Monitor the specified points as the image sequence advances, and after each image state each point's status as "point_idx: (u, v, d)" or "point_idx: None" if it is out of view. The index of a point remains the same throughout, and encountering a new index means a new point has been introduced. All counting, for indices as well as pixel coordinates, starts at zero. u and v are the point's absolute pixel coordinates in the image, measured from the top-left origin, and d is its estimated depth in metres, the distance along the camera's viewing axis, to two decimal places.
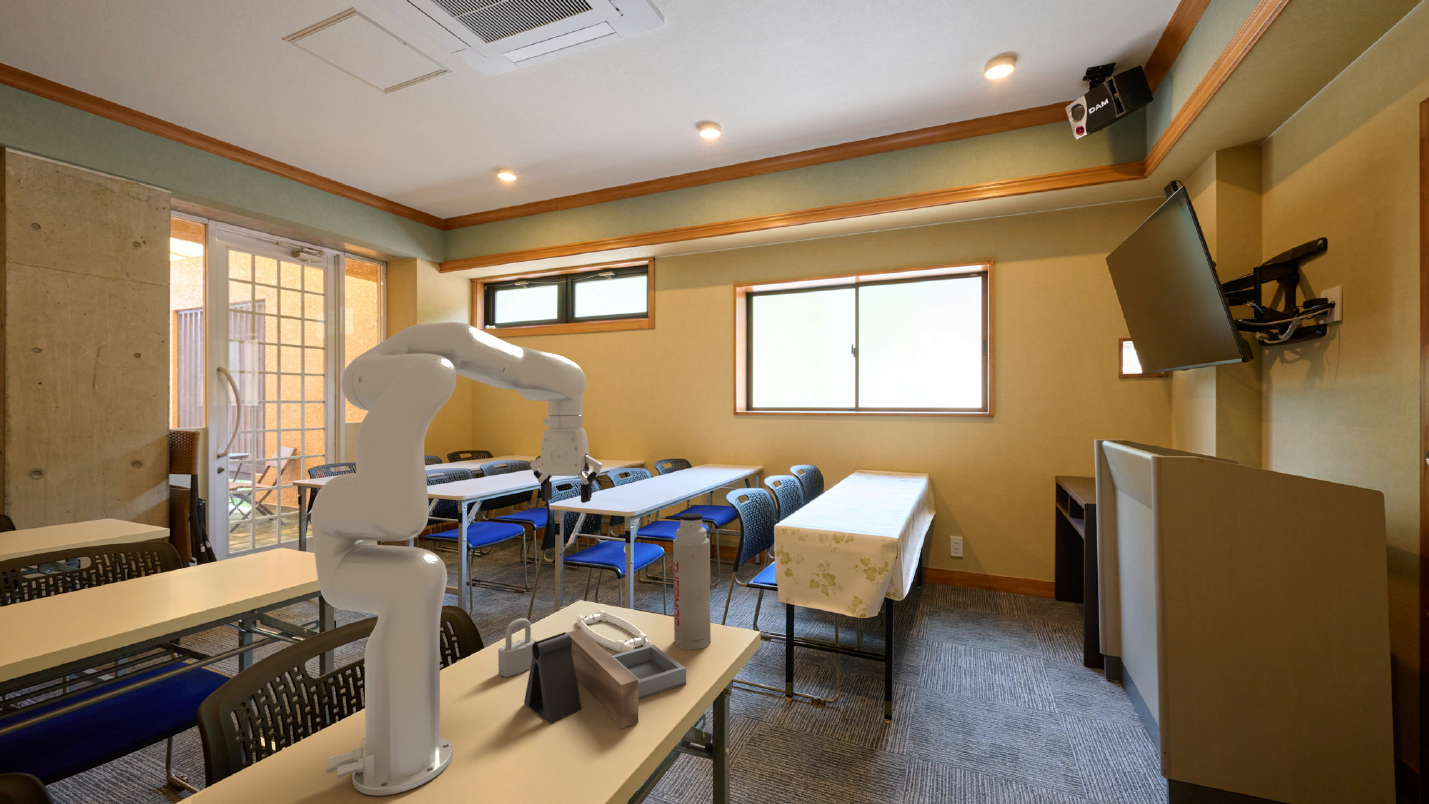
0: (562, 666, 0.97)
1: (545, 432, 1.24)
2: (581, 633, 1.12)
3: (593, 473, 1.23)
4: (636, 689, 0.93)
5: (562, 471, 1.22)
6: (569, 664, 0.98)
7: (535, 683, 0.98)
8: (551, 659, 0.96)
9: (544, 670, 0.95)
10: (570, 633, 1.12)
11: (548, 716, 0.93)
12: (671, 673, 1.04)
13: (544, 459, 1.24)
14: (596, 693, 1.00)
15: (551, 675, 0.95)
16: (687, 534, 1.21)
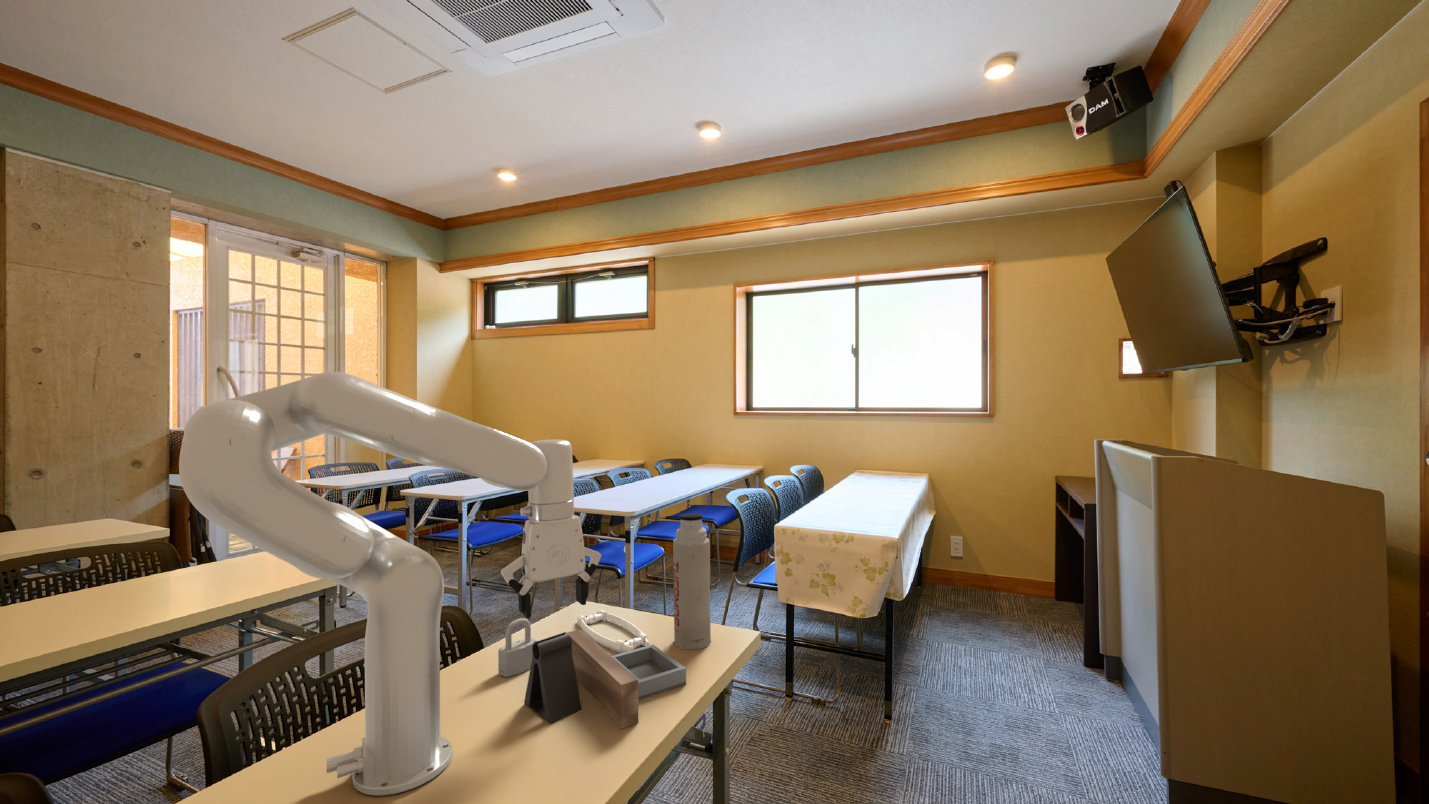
0: (562, 666, 0.97)
1: (535, 526, 0.94)
2: (581, 633, 1.12)
3: (594, 566, 1.02)
4: (636, 689, 0.93)
5: (563, 572, 0.97)
6: (569, 664, 0.98)
7: (535, 683, 0.98)
8: (551, 659, 0.96)
9: (544, 670, 0.95)
10: (570, 633, 1.12)
11: (548, 716, 0.93)
12: (671, 673, 1.04)
13: (536, 562, 0.94)
14: (596, 693, 1.00)
15: (551, 675, 0.96)
16: (687, 534, 1.21)
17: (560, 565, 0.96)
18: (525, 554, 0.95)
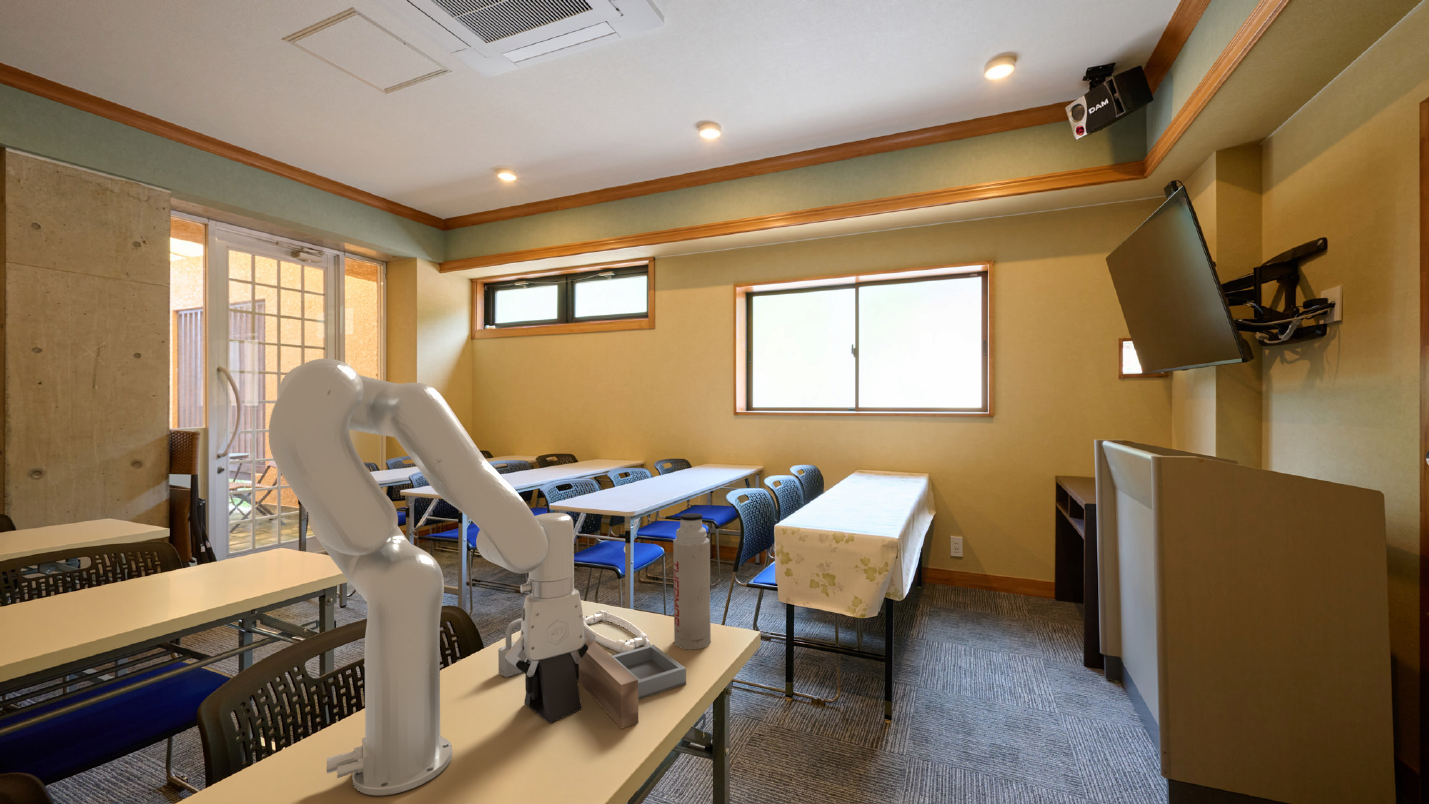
0: (562, 666, 0.97)
1: (535, 604, 0.94)
2: None
3: (586, 647, 1.01)
4: (636, 689, 0.93)
5: (562, 649, 0.96)
6: (569, 664, 0.98)
7: None
8: (551, 659, 0.96)
9: (544, 670, 0.95)
10: None
11: (548, 716, 0.93)
12: (671, 673, 1.04)
13: (535, 640, 0.94)
14: (596, 693, 1.00)
15: (552, 675, 0.95)
16: (687, 534, 1.21)
17: (559, 642, 0.96)
18: (524, 632, 0.94)
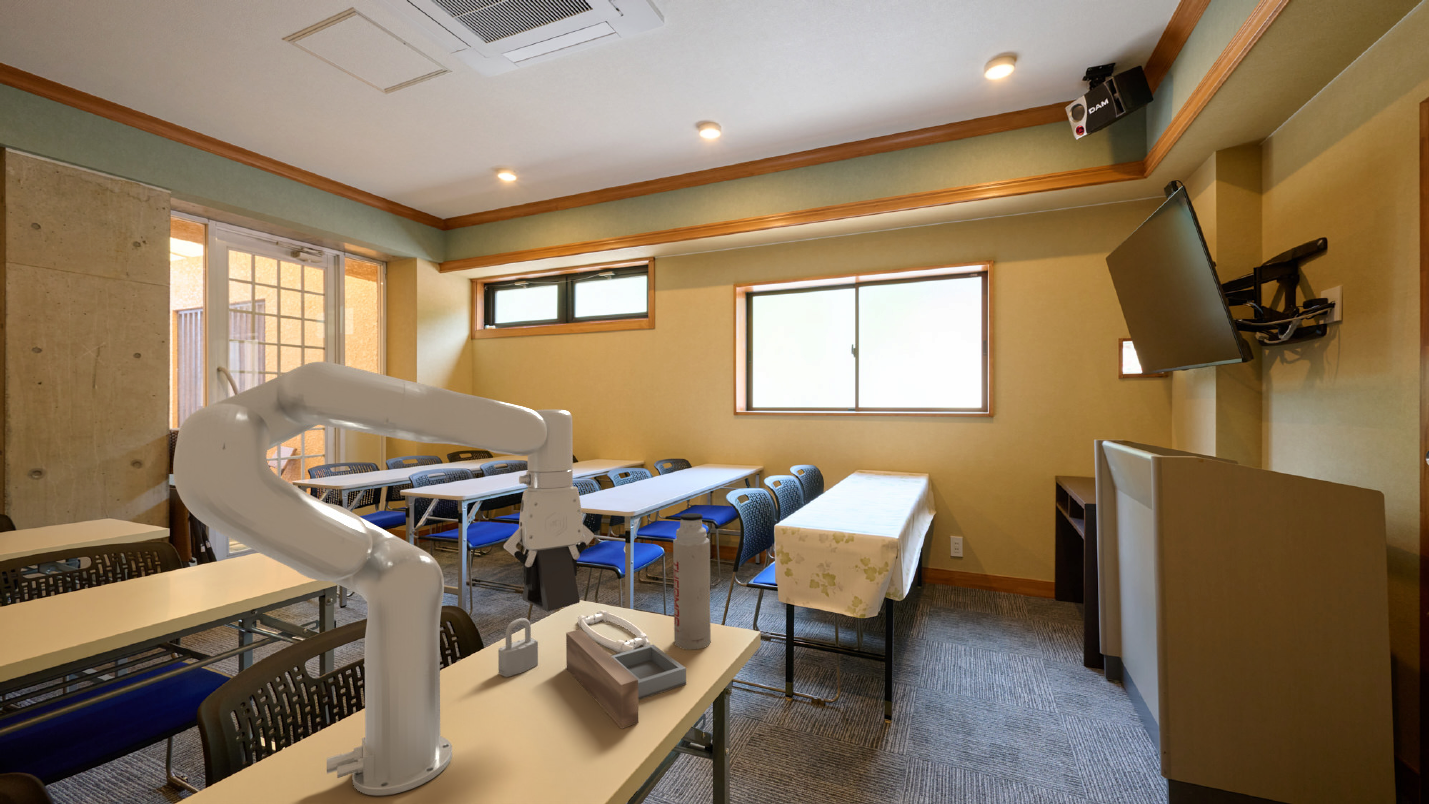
0: (560, 559, 0.97)
1: (534, 494, 0.94)
2: (581, 633, 1.12)
3: (584, 544, 1.01)
4: (636, 689, 0.93)
5: (560, 542, 0.96)
6: (567, 558, 0.98)
7: None
8: (550, 551, 0.96)
9: (542, 561, 0.95)
10: (570, 633, 1.12)
11: (546, 605, 0.93)
12: (671, 673, 1.04)
13: (534, 530, 0.94)
14: (596, 693, 1.00)
15: (550, 567, 0.96)
16: (687, 534, 1.21)
17: (557, 534, 0.96)
18: (523, 522, 0.94)
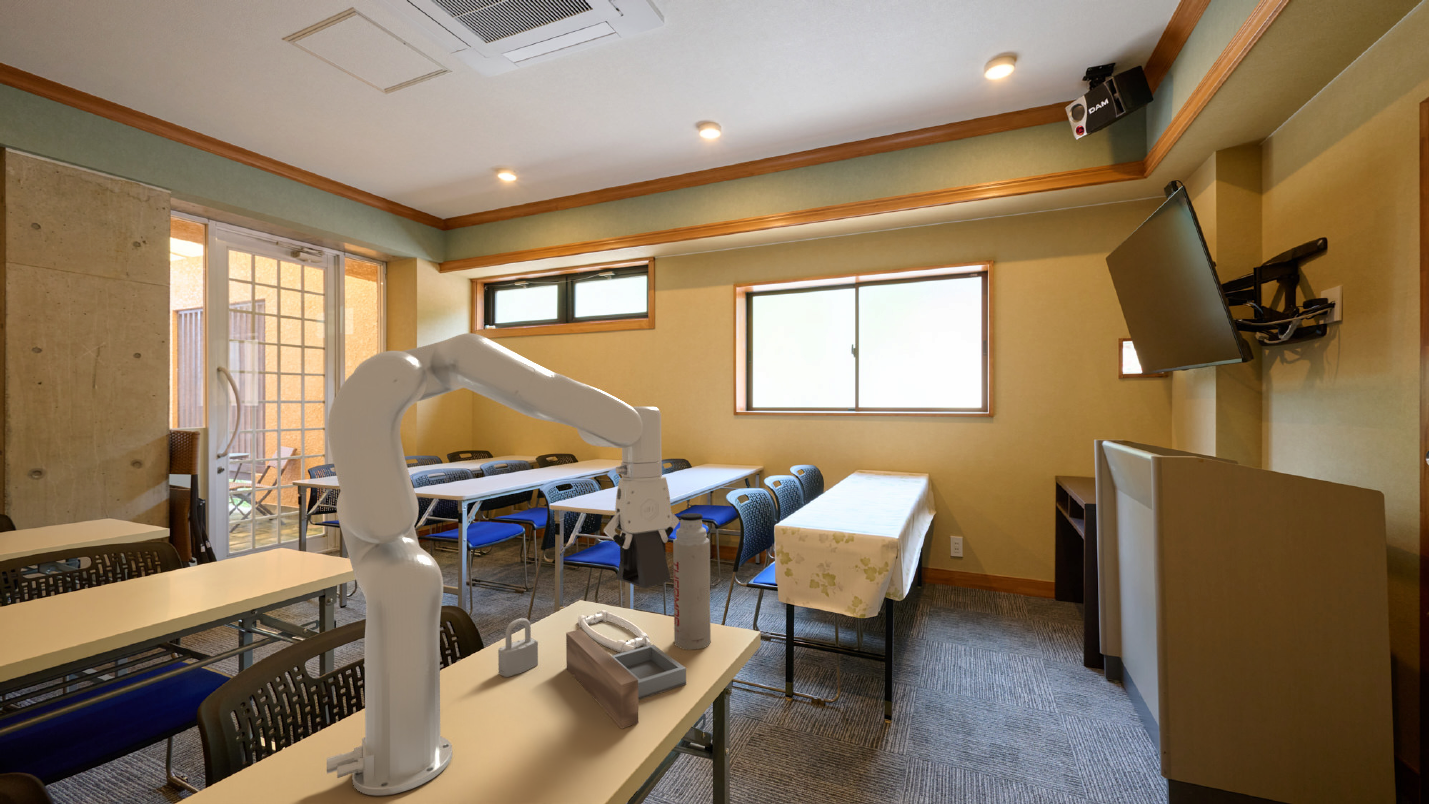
0: (652, 542, 1.07)
1: (630, 483, 1.04)
2: (581, 633, 1.12)
3: (671, 528, 1.11)
4: (636, 689, 0.93)
5: (653, 526, 1.06)
6: (658, 541, 1.08)
7: None
8: (643, 535, 1.06)
9: (638, 543, 1.05)
10: (570, 633, 1.12)
11: (643, 582, 1.03)
12: (671, 673, 1.04)
13: (631, 515, 1.04)
14: (596, 693, 1.00)
15: (644, 548, 1.06)
16: (687, 534, 1.21)
17: (651, 519, 1.06)
18: (621, 508, 1.04)
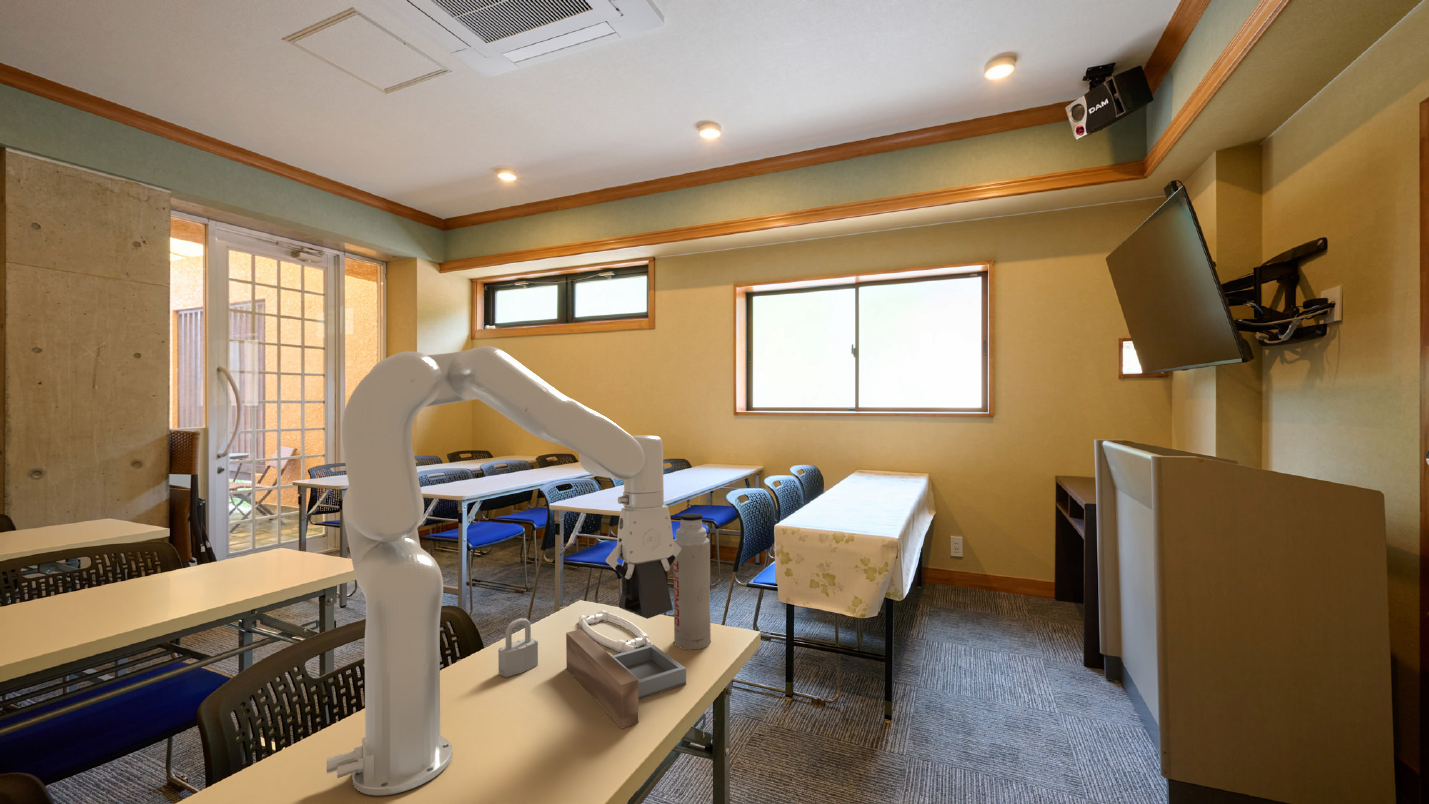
0: (655, 571, 1.07)
1: (632, 513, 1.04)
2: (581, 633, 1.12)
3: (673, 557, 1.11)
4: (636, 689, 0.93)
5: (655, 555, 1.06)
6: (660, 570, 1.08)
7: None
8: (645, 564, 1.07)
9: (640, 573, 1.05)
10: (570, 633, 1.12)
11: (646, 612, 1.03)
12: (671, 673, 1.04)
13: (633, 545, 1.04)
14: (596, 693, 1.00)
15: (646, 578, 1.06)
16: (687, 534, 1.21)
17: (653, 549, 1.06)
18: (623, 538, 1.04)
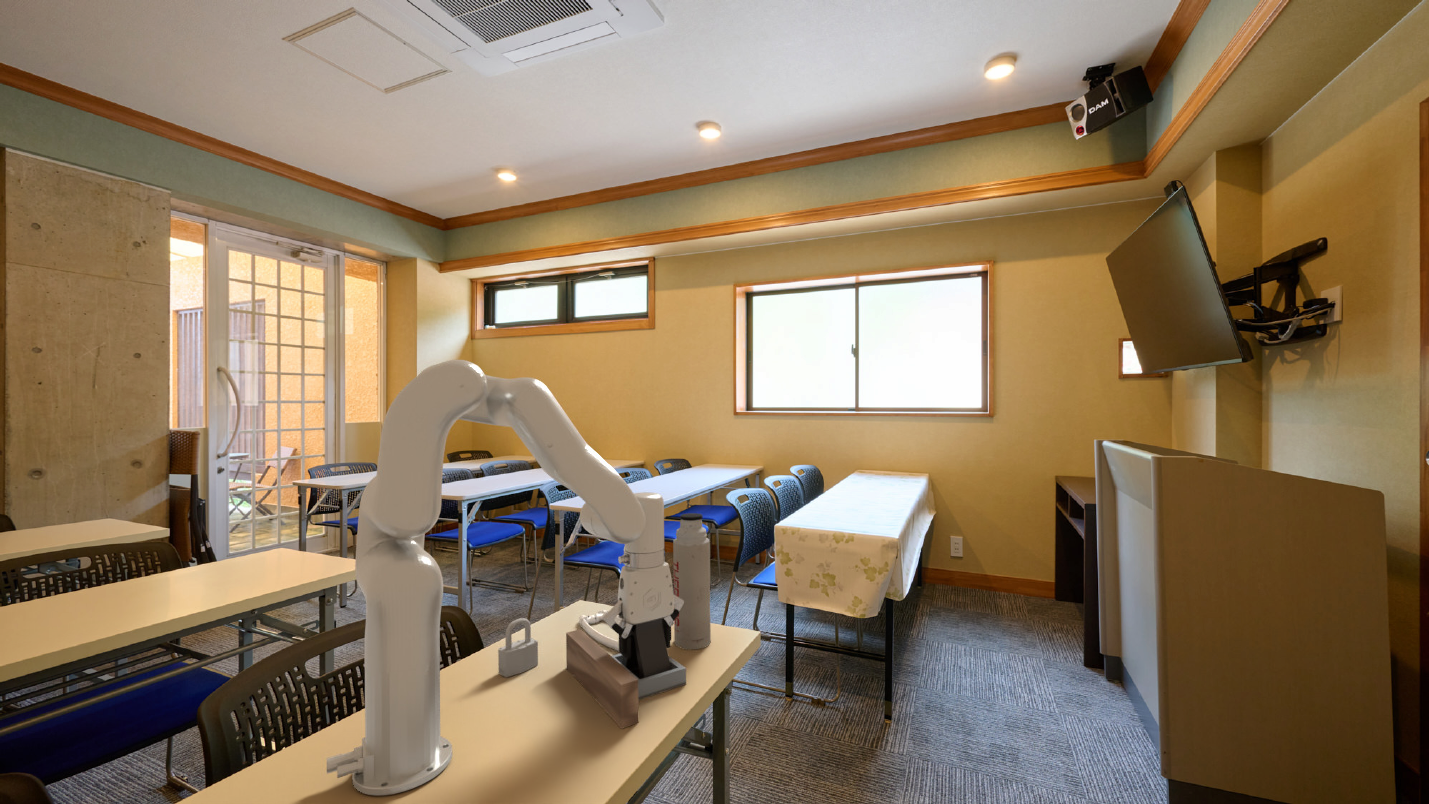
0: (655, 638, 1.07)
1: (633, 574, 1.04)
2: (581, 633, 1.12)
3: (677, 611, 1.11)
4: (636, 689, 0.93)
5: (656, 615, 1.06)
6: (660, 636, 1.08)
7: None
8: (645, 631, 1.06)
9: (639, 641, 1.05)
10: (570, 633, 1.12)
11: None
12: (671, 673, 1.04)
13: (634, 606, 1.04)
14: (596, 693, 1.00)
15: (646, 646, 1.05)
16: (687, 534, 1.21)
17: (653, 609, 1.06)
18: (623, 599, 1.04)
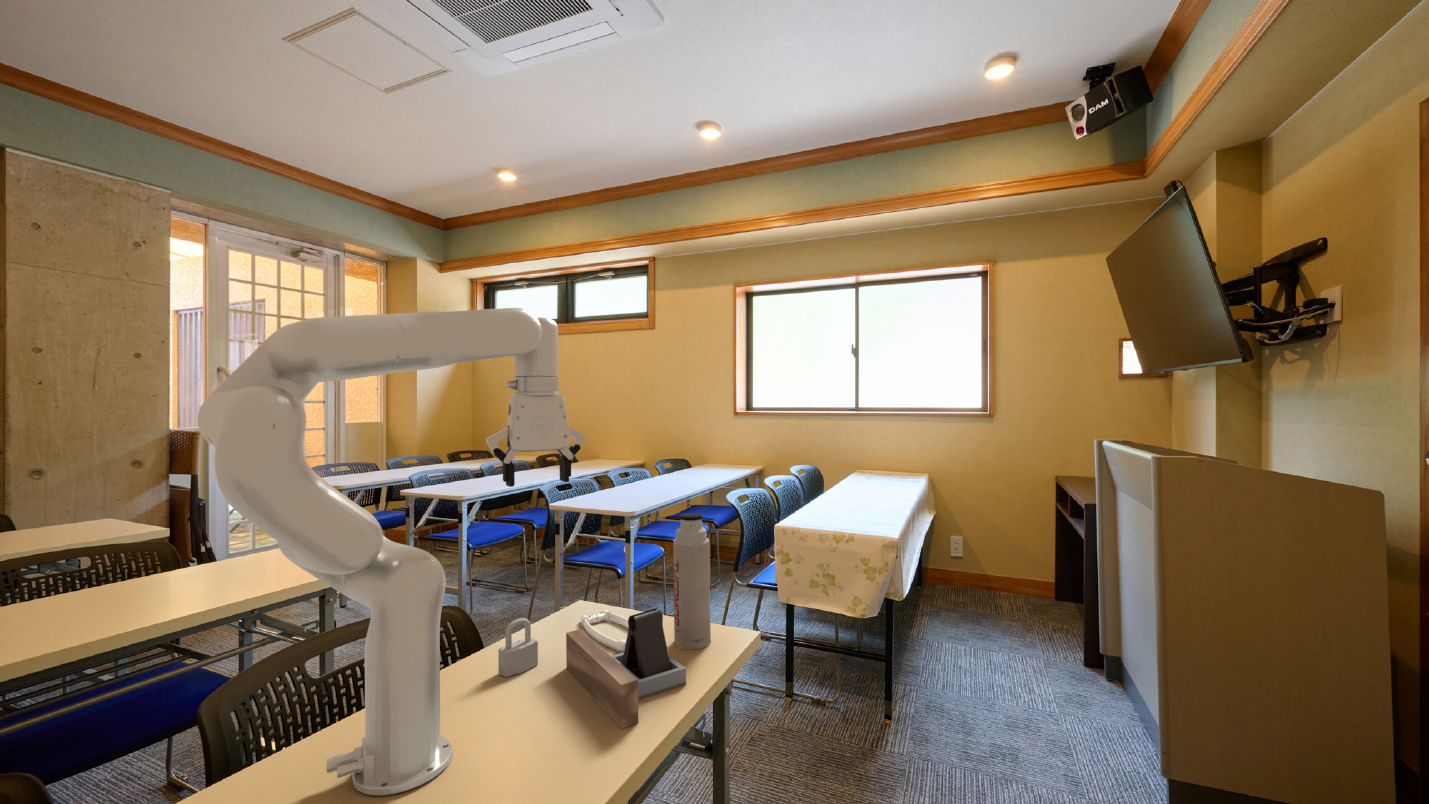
0: (655, 638, 1.07)
1: (520, 397, 0.97)
2: (581, 633, 1.12)
3: (578, 446, 1.04)
4: (636, 689, 0.93)
5: (547, 445, 0.99)
6: (661, 637, 1.08)
7: (631, 653, 1.08)
8: (645, 631, 1.06)
9: (640, 641, 1.05)
10: (570, 633, 1.12)
11: None
12: (671, 673, 1.04)
13: (520, 431, 0.97)
14: (596, 693, 1.00)
15: (646, 646, 1.06)
16: (687, 534, 1.21)
17: (544, 438, 0.99)
18: (510, 424, 0.97)
